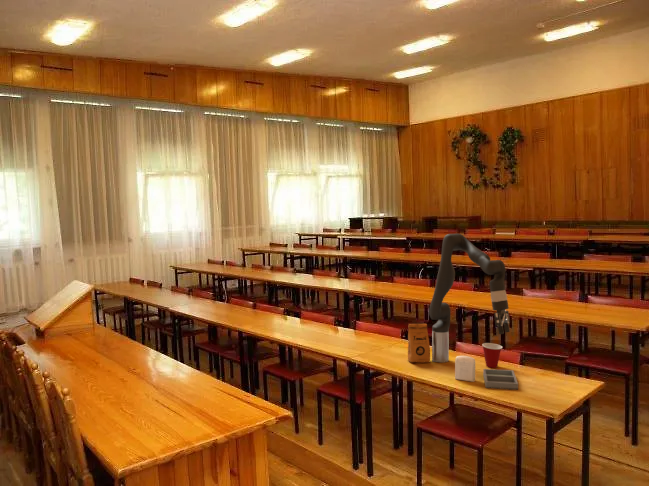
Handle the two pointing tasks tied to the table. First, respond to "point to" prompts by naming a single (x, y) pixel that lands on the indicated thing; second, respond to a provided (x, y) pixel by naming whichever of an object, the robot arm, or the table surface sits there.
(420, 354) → the coffee package
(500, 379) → the grey divided tray
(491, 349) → the plastic cup
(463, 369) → the beige rounded slab
